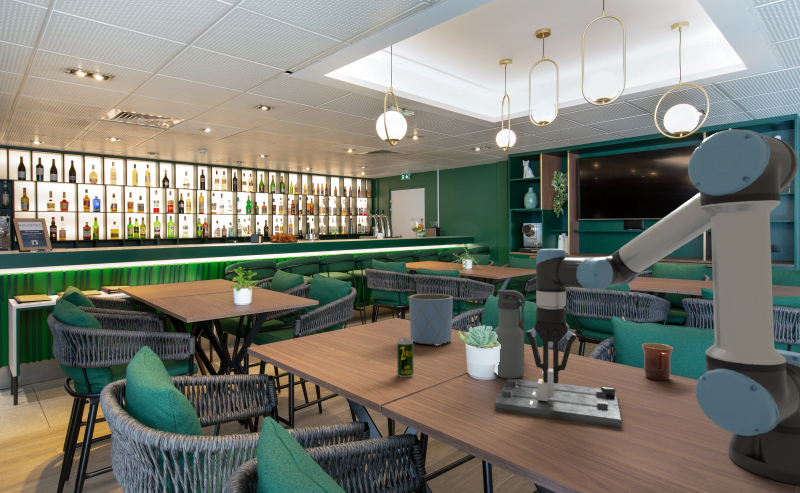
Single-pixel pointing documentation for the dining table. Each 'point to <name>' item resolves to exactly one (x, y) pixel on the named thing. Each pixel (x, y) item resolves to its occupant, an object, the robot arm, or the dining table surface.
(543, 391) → the block
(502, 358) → the water bottle
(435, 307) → the planter
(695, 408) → the dining table surface
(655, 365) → the mug
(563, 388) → the console board
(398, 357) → the beer can
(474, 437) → the dining table surface
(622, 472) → the dining table surface
